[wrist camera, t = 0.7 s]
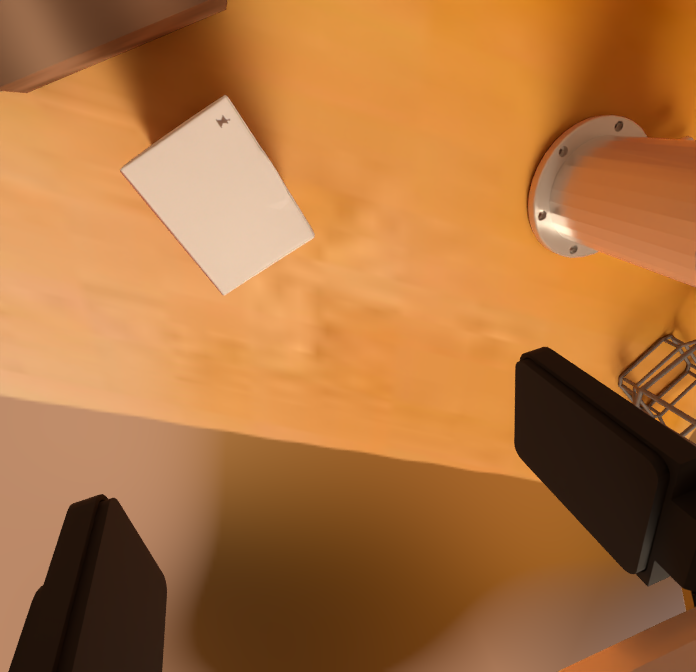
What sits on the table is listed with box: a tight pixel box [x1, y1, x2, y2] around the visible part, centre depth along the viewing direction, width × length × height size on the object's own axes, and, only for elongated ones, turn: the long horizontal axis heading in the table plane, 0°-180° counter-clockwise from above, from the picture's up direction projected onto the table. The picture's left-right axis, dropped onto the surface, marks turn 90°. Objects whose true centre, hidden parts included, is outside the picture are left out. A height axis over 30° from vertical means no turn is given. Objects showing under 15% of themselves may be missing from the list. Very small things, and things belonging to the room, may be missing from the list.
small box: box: [120, 95, 315, 295], centre depth 28 cm, size 8×6×13 cm
